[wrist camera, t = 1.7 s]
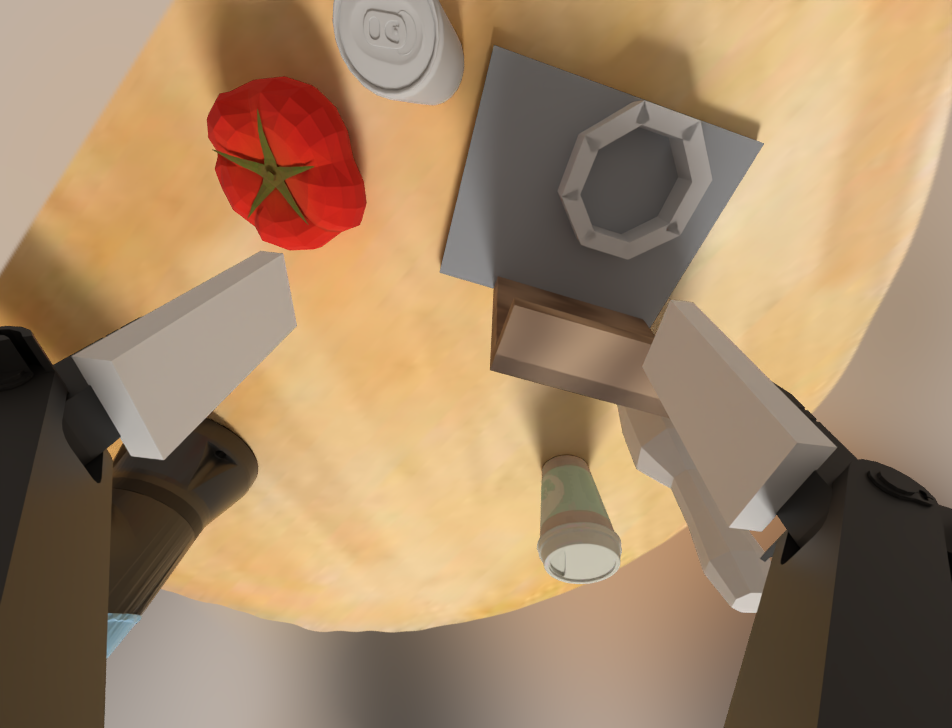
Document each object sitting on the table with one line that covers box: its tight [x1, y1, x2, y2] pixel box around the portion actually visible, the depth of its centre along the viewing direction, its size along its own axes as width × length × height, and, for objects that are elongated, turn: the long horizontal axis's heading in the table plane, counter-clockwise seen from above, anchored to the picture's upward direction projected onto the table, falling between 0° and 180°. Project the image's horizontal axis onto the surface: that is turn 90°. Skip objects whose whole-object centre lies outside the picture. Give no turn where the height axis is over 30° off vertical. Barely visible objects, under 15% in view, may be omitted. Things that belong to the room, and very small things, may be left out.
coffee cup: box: [537, 455, 622, 584], centre depth 43 cm, size 8×8×12 cm
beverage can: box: [333, 0, 464, 105], centre depth 21 cm, size 5×5×12 cm
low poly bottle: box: [617, 405, 771, 613], centre depth 30 cm, size 6×6×22 cm
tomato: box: [207, 76, 367, 250], centre depth 27 cm, size 10×11×7 cm
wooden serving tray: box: [490, 276, 670, 419], centre depth 28 cm, size 14×4×14 cm, turn 74°
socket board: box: [440, 45, 764, 328], centre depth 29 cm, size 20×16×4 cm
